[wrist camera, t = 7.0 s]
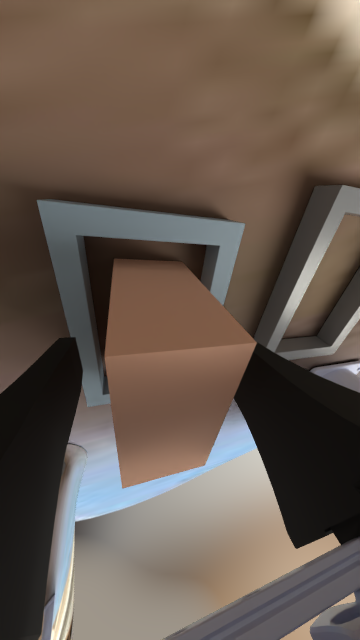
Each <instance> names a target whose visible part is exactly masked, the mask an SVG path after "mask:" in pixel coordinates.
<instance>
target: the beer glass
mask: <svg viewBox="0 0 360 640" xmlns="http://www.w3.org/2000/svg"><path fill="white" fill-rule="evenodd" d="M87 458H88V456H87V452H86V451H85V450H84V449H83V448H81V447H79V446H77V445H73V444H67V448H66V453H65V457H64V462H63V469H62V475H61V481H60V488H59V494H58V501H57V508H56V515H55V522H54V530H53V537H52V545H51V553H50V561H49V569H48V578H47V587H46V595H45V604H44V613H43V623H42V633H41V635H40V637H39V639H38V640H73V614H74V527H75V512H76V503H77V498H78V492H79V488H80V484H81V481H82V477H83V474H84V470H85V467H86V463H87Z"/></svg>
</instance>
